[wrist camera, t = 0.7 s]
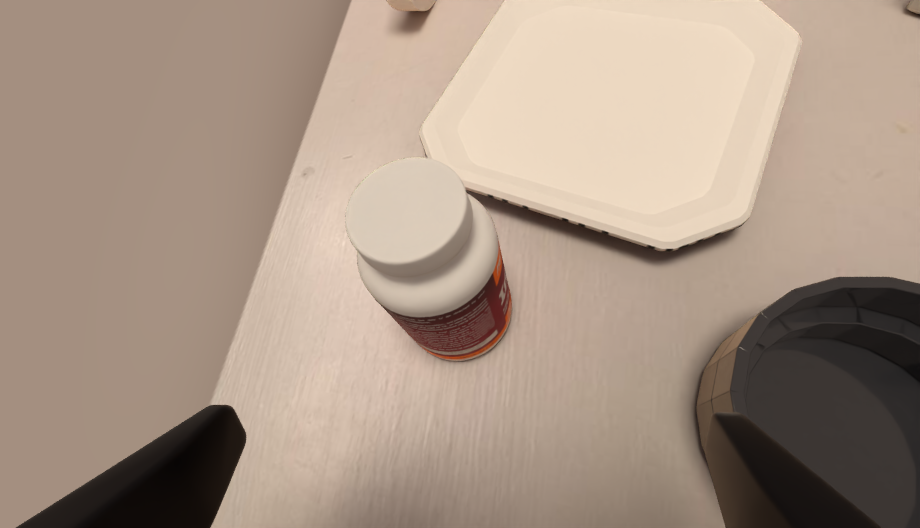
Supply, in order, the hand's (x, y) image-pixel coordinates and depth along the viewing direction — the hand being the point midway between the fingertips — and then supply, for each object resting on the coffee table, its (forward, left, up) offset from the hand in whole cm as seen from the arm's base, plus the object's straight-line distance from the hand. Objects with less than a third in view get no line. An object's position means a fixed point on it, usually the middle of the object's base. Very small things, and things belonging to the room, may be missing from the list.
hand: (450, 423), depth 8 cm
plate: (+23, +2, -15) cm, 28 cm away
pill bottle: (+6, +6, -15) cm, 17 cm away
